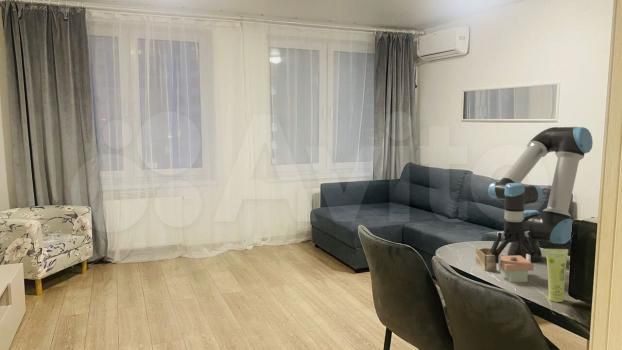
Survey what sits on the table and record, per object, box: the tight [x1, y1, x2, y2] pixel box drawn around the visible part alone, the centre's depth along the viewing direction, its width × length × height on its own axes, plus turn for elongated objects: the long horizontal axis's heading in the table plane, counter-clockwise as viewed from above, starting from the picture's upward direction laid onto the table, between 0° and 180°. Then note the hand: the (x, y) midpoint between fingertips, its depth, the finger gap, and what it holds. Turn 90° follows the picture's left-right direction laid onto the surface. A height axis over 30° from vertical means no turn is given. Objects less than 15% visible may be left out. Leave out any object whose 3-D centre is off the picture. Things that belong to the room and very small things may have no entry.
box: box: [475, 247, 504, 272], centre depth 209 cm, size 8×12×7 cm, turn 178°
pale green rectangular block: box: [499, 267, 529, 283], centre depth 194 cm, size 7×12×5 cm, turn 178°
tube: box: [544, 248, 569, 303], centre depth 167 cm, size 6×5×20 cm
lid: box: [501, 255, 534, 272], centre depth 193 cm, size 11×13×4 cm
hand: (513, 270), depth 194 cm, fingers open, 12 cm apart
